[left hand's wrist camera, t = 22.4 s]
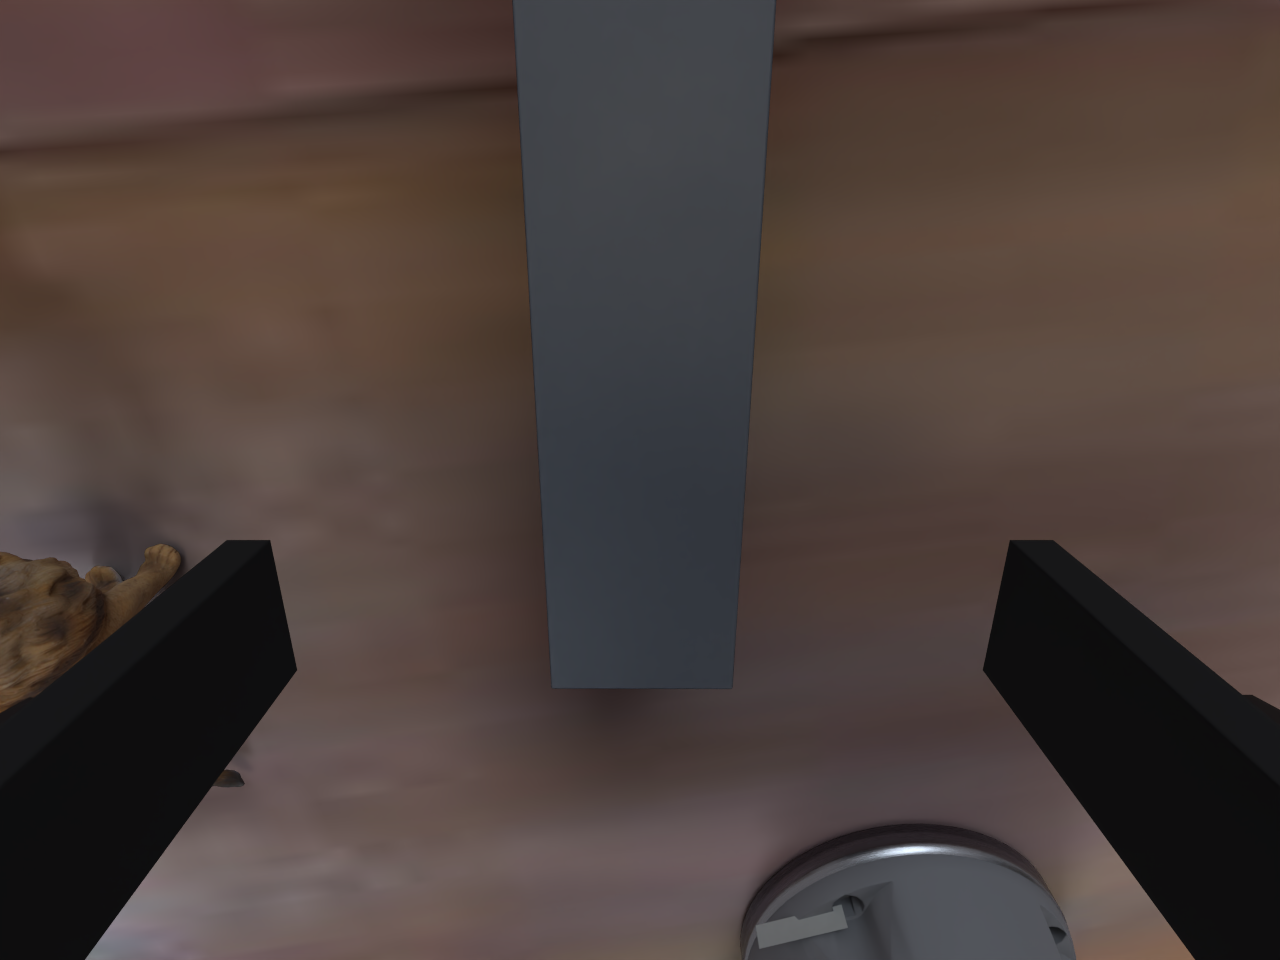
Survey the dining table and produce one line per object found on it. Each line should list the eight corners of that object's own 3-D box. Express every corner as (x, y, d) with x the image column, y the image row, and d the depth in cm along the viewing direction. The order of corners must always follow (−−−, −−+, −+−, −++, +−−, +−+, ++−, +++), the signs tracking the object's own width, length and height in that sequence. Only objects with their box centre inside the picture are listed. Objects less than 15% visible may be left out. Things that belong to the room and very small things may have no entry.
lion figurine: (-1, 491, 26) (-301, 636, 18) (129, 455, 26) (-117, 588, 17) (197, 785, 32) (40, 1001, 23) (308, 761, 31) (186, 973, 23)
